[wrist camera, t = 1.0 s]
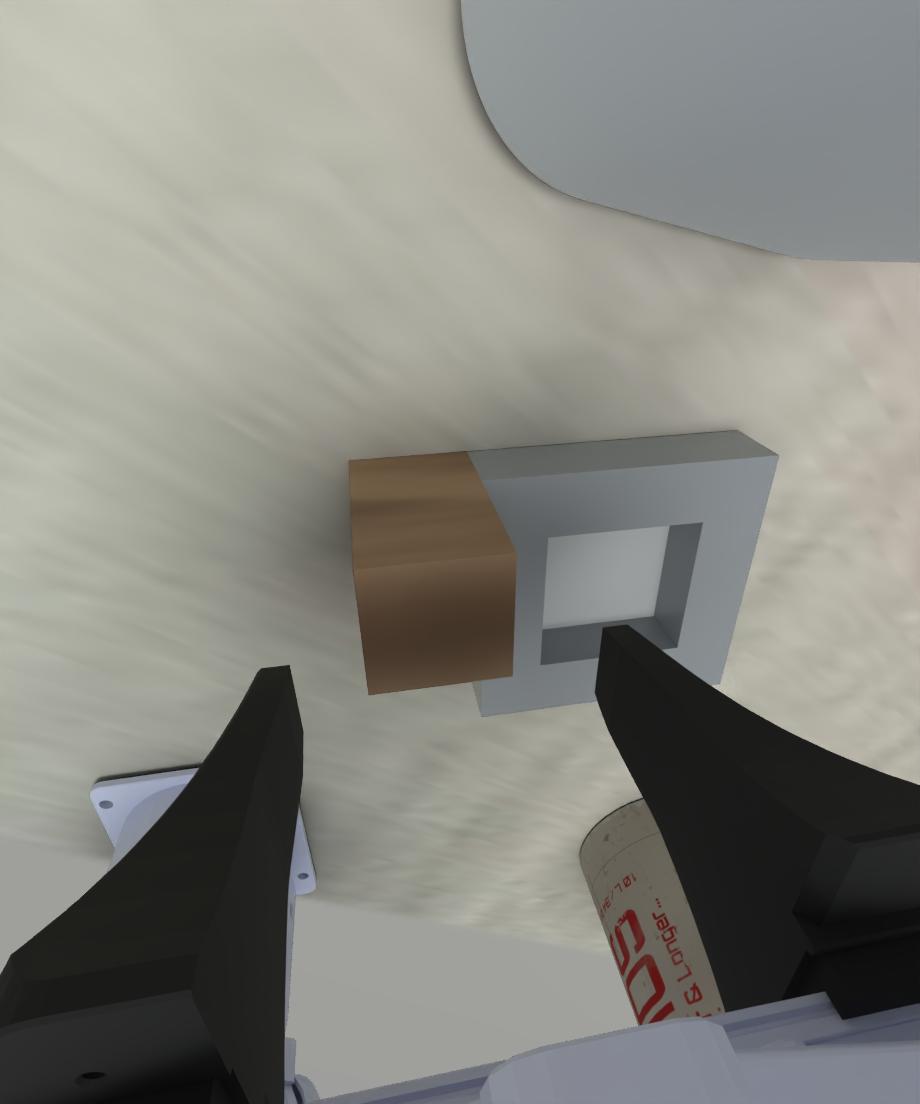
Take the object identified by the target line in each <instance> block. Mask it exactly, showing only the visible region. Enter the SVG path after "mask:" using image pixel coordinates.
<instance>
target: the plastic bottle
mask: <svg viewBox="0 0 920 1104" xmlns="http://www.w3.org/2000/svg"><path fill="white" fill-rule="evenodd" d="M461 14H462V24H463V34H464V40H465V45H466V51H467V56H468V60H469V64H470V68H471V72H472V76H473V79H474V82H475V85H476V88H477V91H478V94H479V96H480V99H481V101H482V103H483V106H484V108H485V110H486V113H487V115H488V116H489V118H490V120H491V122H492V124H493V126H494V127H495V129H496V131H497V132H498V134H499V135H500V137H501V138H502V140H503V141H504V143H505V144H506V146H507V147H508V148H509V149H510V150H511V152H512V153H513V154H514V155H515V157H516V158H517V159H518V160H519V161H520V162H521V163H522V164H523V165H524V166H525V167H526V168H527V169H528V170H529V171H531V172H532V173H533V174H534V175H535V176H537V177H538V178H539V179H540V180H542V181H543V182H545V183H547V184H548V185H550V186H551V187H553V188H555V189H557V190H559V191H561V192H563V193H565V194H567V195H570V196H573V197H576V198H579V199H582V200H585V201H589V202H593V203H596V204H600V205H604V206H607V207H611V208H614V209H618V210H622V211H625V212H629V213H633V214H636V215H640V216H644V217H647V218H651V219H655V220H658V221H662V222H666V223H669V224H673V225H677V226H680V227H684V228H688V229H691V230H695V231H699V232H702V233H706V234H709V235H713V236H717V237H720V238H724V239H728V240H731V241H735V242H739V243H742V244H746V245H750V246H753V247H757V248H761V249H764V250H768V251H772V252H775V253H779V254H783V255H786V256H791V257H795V258H800V259H810V260H840V261H880V262H920V0H461Z"/></svg>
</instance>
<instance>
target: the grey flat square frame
mask: <svg viewBox="0 0 920 1104" xmlns="http://www.w3.org/2000/svg"><path fill="white" fill-rule="evenodd" d="M467 453H468V455H469V457H470V459H471V461H472V463H473V465H474V467H475V469H476V471H477V473H478V475H479V477H480V479H481V481H482V483H483V485H484V487H485V489H486V491H487V493H488V495H489V497H490V499H491V501H492V503H493V505H494V507H495V509H496V511H497V513H498V515H499V517H500V519H501V521H502V523H503V526H504V528H505V530H506V532H507V534H508V536H509V538H510V540H511V542H512V544H513V546H514V548H515V550H516V552H517V569H516V598H515V627H514V657H513V676H512V677H505V678H497V679H489V680H482V681H474V682H472V684H473V687H474V691H475V695H476V699H477V702H478V706H479V710H480V713H481V717H486V716H493V715H500V714H507V713H515V712H522V711H529V710H536V709H543V708H551V707H558V706H565V705H572V704H580V703H587V702H594V701H597V698H596V695H595V684H596V676H597V669H598V661H599V653H600V645H601V637H602V629H603V627H609V626H617V625H626V624H628V625H629V626H630V627H632V628H633V629H635V630H636V631H637V632H639V633H640V634H641V635H643V636H644V637H645V638H647V639H648V640H649V641H650V642H652V643H653V644H654V645H656V646H657V647H658V648H660V649H661V650H662V651H664V652H665V653H666V654H668V655H669V656H670V657H671V658H673V659H674V660H676V661H677V662H678V663H680V664H681V665H682V666H684V667H685V668H686V669H688V670H689V671H691V672H692V673H693V674H695V675H696V676H698V677H699V678H700V679H702V680H703V681H705V682H706V683H708V684H709V685H717V684H720V681H721V678H722V674H723V670H724V666H725V662H726V658H727V654H728V651H729V647H730V643H731V639H732V635H733V631H734V628H735V624H736V620H737V616H738V612H739V608H740V604H741V601H742V597H743V593H744V589H745V585H746V581H747V578H748V574H749V570H750V566H751V562H752V558H753V555H754V551H755V547H756V543H757V539H758V535H759V531H760V528H761V524H762V520H763V516H764V512H765V508H766V505H767V501H768V497H769V493H770V489H771V485H772V482H773V478H774V474H775V470H776V466H777V462H778V458H779V455H778V454H776V453H775V452H773V451H771V450H769V449H768V448H766V447H764V446H763V445H761V444H759V443H758V442H756V441H754V440H753V439H751V438H749V437H748V436H746V435H744V434H743V433H741V432H739V431H738V430H737V431H724V432H711V433H699V434H686V435H673V436H661V437H648V438H635V439H623V440H610V441H597V442H585V443H572V444H559V445H547V446H534V447H521V448H508V449H496V450H483V451H470V452H467Z"/></svg>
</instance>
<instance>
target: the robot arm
mask: <svg viewBox="0 0 920 1104" xmlns="http://www.w3.org/2000/svg"><path fill="white" fill-rule="evenodd" d="M595 695H596V698H597V701H598V704H599V707H600V710H601V712H602V715H603V718H604V720H605V723H606V726H607V728H608V731H609V733H610V735H611V737H612V739H613V741H614V743H615V745H616V747H617V749H618V750H619V752H620V754H621V756H622V758H623V760H624V762H625V764H626V766H627V768H628V770H629V772H630V773H631V775H632V777H633V779H634V781H635V783H636V785H637V787H638V789H639V791H640V792H641V794H642V796H643V798H644V800H645V802H646V804H647V806H648V808H649V810H650V811H651V813H652V815H653V818H654V820H655V822H656V824H657V826H658V828H659V830H660V833H661V835H662V837H663V840H664V842H665V845H666V847H667V850H668V852H669V855H670V857H671V860H672V862H673V865H674V867H675V870H676V872H677V875H678V877H679V880H680V883H681V885H682V888H683V891H684V893H685V896H686V899H687V901H688V904H689V907H690V909H691V912H692V915H693V917H694V920H695V923H696V926H697V929H698V932H699V935H700V937H701V940H702V943H703V946H704V949H705V952H706V955H707V957H708V960H709V963H710V966H711V969H712V972H713V975H714V978H715V982H716V985H717V988H718V991H719V994H720V997H721V1000H722V1003H723V1006H724V1009H725V1013H722V1014H718V1015H713V1016H708V1017H704V1018H702V1017H699V1016H698V1017H685V1018H674V1019H669V1020H664V1021H660V1022H655V1023H650V1024H646V1025H641V1026H636V1027H631V1028H627V1029H622V1030H617V1031H613V1032H608V1033H603V1034H599V1035H594V1036H589V1037H585V1038H580V1039H575V1040H571V1041H566V1042H561V1043H556V1044H552V1045H547V1046H543V1047H539V1048H536V1049H533V1050H530V1051H527V1052H524V1053H522V1054H518V1055H515V1056H513V1057H511V1058H510V1059H508V1060H503V1061H499V1062H494V1063H490V1064H485V1065H480V1066H476V1067H471V1068H466V1069H461V1070H457V1071H452V1072H448V1073H443V1074H438V1075H434V1076H429V1077H424V1078H420V1079H415V1080H410V1081H405V1082H401V1083H396V1084H392V1085H387V1086H382V1087H377V1088H373V1089H368V1090H364V1091H359V1092H354V1093H350V1094H345V1095H340V1096H335V1097H331V1098H326V1099H321V1100H320V1098H319V1094H318V1092H317V1090H316V1089H315V1086H314V1084H313V1083H312V1082H311V1081H310V1080H309V1079H308V1078H307V1077H305V1076H302V1075H295V1055H296V1040H295V1039H293V1038H286V1037H285V1030H286V1025H287V1020H288V1009H289V994H290V977H291V962H292V946H293V930H294V914H295V898H296V895H301V894H307V893H311V892H312V891H314V890H315V889H316V876H315V871H314V867H313V863H312V858H311V854H310V850H309V845H308V841H307V836H306V832H305V828H304V823H303V819H302V815H301V810H300V806H299V802H300V794H301V786H302V778H303V728H302V723H301V718H300V713H299V708H298V703H297V698H296V694H295V689H294V684H293V679H292V674H291V669H290V665H286V666H278V667H270V668H261V669H260V670H259V671H258V672H257V674H256V676H255V678H254V680H253V682H252V684H251V686H250V687H249V689H248V691H247V693H246V695H245V697H244V698H243V700H242V702H241V704H240V706H239V707H238V709H237V711H236V712H235V714H234V716H233V718H232V719H231V721H230V722H229V724H228V725H227V727H226V729H225V730H224V732H223V733H222V735H221V737H220V738H219V740H218V741H217V743H216V744H215V746H214V747H213V749H212V750H211V752H210V753H209V755H208V756H207V757H206V759H205V760H204V762H203V763H202V765H201V766H200V767H199V768H193V769H186V770H179V771H172V772H165V773H158V774H151V775H144V776H137V777H130V778H122V779H115V780H108V781H102V782H98V783H96V784H94V785H93V787H92V789H91V791H90V794H89V796H90V799H91V801H92V803H93V805H94V807H95V809H96V811H97V813H98V815H99V817H100V819H101V822H102V824H103V826H104V828H105V830H106V832H107V834H108V836H109V838H110V840H111V842H112V844H113V846H114V848H115V851H114V854H113V857H112V859H111V862H110V865H109V868H108V871H107V874H105V875H104V876H103V877H102V878H101V879H100V880H99V881H98V882H97V883H96V884H95V885H94V886H93V887H92V888H91V889H90V890H88V891H87V892H86V893H85V894H84V895H83V896H82V897H81V898H80V899H79V900H78V901H76V902H75V903H74V904H73V905H72V906H71V907H69V908H68V909H67V910H66V911H65V912H64V913H62V914H61V915H60V916H59V917H57V918H56V919H55V920H54V921H52V922H51V923H50V924H49V925H48V926H46V927H45V928H44V929H43V930H41V931H40V932H39V933H38V934H37V935H35V936H34V937H33V938H32V939H30V940H29V941H28V942H27V943H25V944H24V945H23V946H22V947H20V948H19V949H18V950H17V951H15V952H14V953H13V954H11V956H10V958H9V960H8V962H7V964H6V966H5V967H4V969H3V971H2V973H1V974H0V1104H920V785H918V784H915V783H912V782H909V781H906V780H903V779H900V778H897V777H894V776H890V775H888V774H885V773H882V772H880V771H877V770H874V769H872V768H869V767H867V766H864V765H862V764H859V763H857V762H854V761H851V760H849V759H847V758H844V757H842V756H840V755H837V754H835V753H833V752H830V751H828V750H826V749H824V748H821V747H819V746H817V745H815V744H813V743H811V742H809V741H807V740H804V739H802V738H800V737H798V736H796V735H794V734H792V733H790V732H788V731H786V730H784V729H782V728H780V727H778V726H777V725H775V724H773V723H771V722H769V721H768V720H766V719H764V718H762V717H760V716H759V715H757V714H755V713H753V712H751V711H750V710H748V709H746V708H745V707H743V706H741V705H740V704H738V703H737V702H735V701H733V700H732V699H730V698H729V697H727V696H726V695H724V694H723V693H721V692H720V691H718V690H716V689H715V688H713V687H712V686H711V685H709V684H708V683H706V682H705V681H703V680H702V679H700V678H699V677H698V676H696V675H695V674H693V673H692V672H691V671H689V670H688V669H686V668H685V667H684V666H682V665H681V664H680V663H678V662H677V661H676V660H674V659H673V658H671V657H670V656H669V655H668V654H666V653H665V652H664V651H662V650H661V649H660V648H658V647H657V646H656V645H654V644H653V643H652V642H650V641H649V640H648V639H647V638H645V637H644V636H643V635H641V634H640V633H639V632H637V631H636V630H635V629H633V628H632V627H630V626H629V625H628V624H626V625H617V626H609V627H603V629H602V637H601V645H600V653H599V661H598V669H597V676H596V684H595ZM107 800H108V801H107Z"/></svg>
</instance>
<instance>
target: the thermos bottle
mask: <svg viewBox="0 0 920 1104" xmlns="http://www.w3.org/2000/svg"><path fill="white" fill-rule="evenodd" d="M580 864H581V867H582V870H583V873H584V876H585V878H586V881H587V884H588V887H589V889H590V892H591V895H592V898H593V901H594V903H595V906H596V909H597V912H598V915H599V917H600V920H601V923H602V926H603V928H604V931H605V934H606V937H607V940H608V942H609V945H610V948H611V951H612V954H613V956H614V959H615V962H616V965H617V967H618V970H619V973H620V976H621V979H622V981H623V984H624V987H625V990H626V992H627V995H628V998H629V1001H630V1004H631V1006H632V1009H633V1012H634V1015H635V1017H636V1020H637V1023H638V1026H641V1025H646V1024H650V1023H655V1022H660V1021H664V1020H669V1019H674V1018H685V1017H698V1016H699V1017H702V1018H704V1017H708V1016H713V1015H718V1014H722V1013H725V1009H724V1006H723V1003H722V1000H721V997H720V994H719V991H718V988H717V985H716V982H715V978H714V975H713V972H712V969H711V966H710V963H709V960H708V957H707V955H706V952H705V949H704V946H703V943H702V940H701V937H700V935H699V932H698V929H697V926H696V923H695V920H694V917H693V915H692V912H691V909H690V907H689V904H688V901H687V899H686V896H685V893H684V891H683V888H682V885H681V883H680V880H679V877H678V875H677V872H676V870H675V867H674V865H673V862H672V860H671V857H670V855H669V852H668V850H667V847H666V845H665V842H664V840H663V837H662V835H661V833H660V830H659V828H658V826H657V824H656V822H655V820H654V818H653V815H652V813H651V811H650V810H649V808H648V806H647V804H646V802H645V800H644V799H642V800H639V801H636V802H633V803H631V804H628V805H626V806H624V807H622V808H620V809H618V810H617V811H615V812H614V813H612V814H611V815H609V816H608V817H606V818H605V819H604V820H602V821H601V822H600V823H599V824H598V825H597V826H596V827H595V828H594V829H593V830H592V831H591V832H590V834H589V835H588V836H587V838H586V840H585V842H584V843H583V846H582V849H581V853H580Z"/></svg>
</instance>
